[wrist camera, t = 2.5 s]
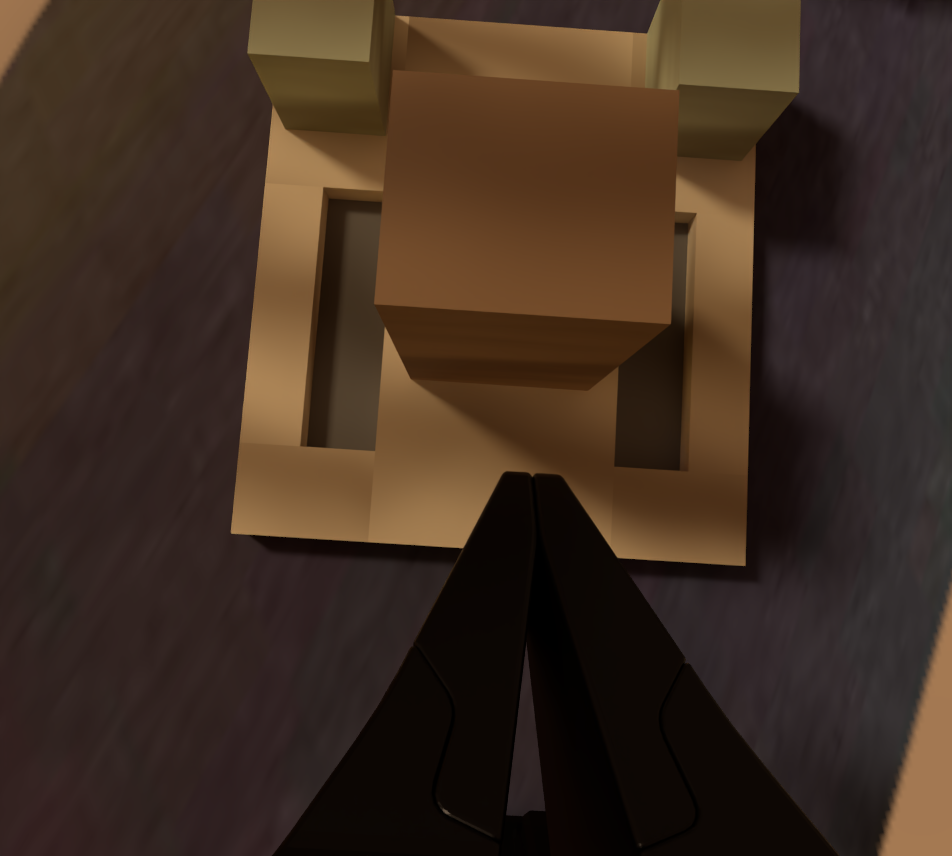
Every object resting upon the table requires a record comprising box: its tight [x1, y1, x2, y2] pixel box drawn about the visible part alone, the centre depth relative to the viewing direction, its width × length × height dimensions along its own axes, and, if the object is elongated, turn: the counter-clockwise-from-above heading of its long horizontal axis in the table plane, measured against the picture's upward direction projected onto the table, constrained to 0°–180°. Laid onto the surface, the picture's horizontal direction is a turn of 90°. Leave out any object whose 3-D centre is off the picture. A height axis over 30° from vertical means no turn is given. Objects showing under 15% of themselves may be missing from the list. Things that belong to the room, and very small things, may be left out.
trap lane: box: [231, 0, 801, 566], centre depth 21 cm, size 18×17×5 cm
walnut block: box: [374, 70, 679, 391], centre depth 18 cm, size 5×6×9 cm
